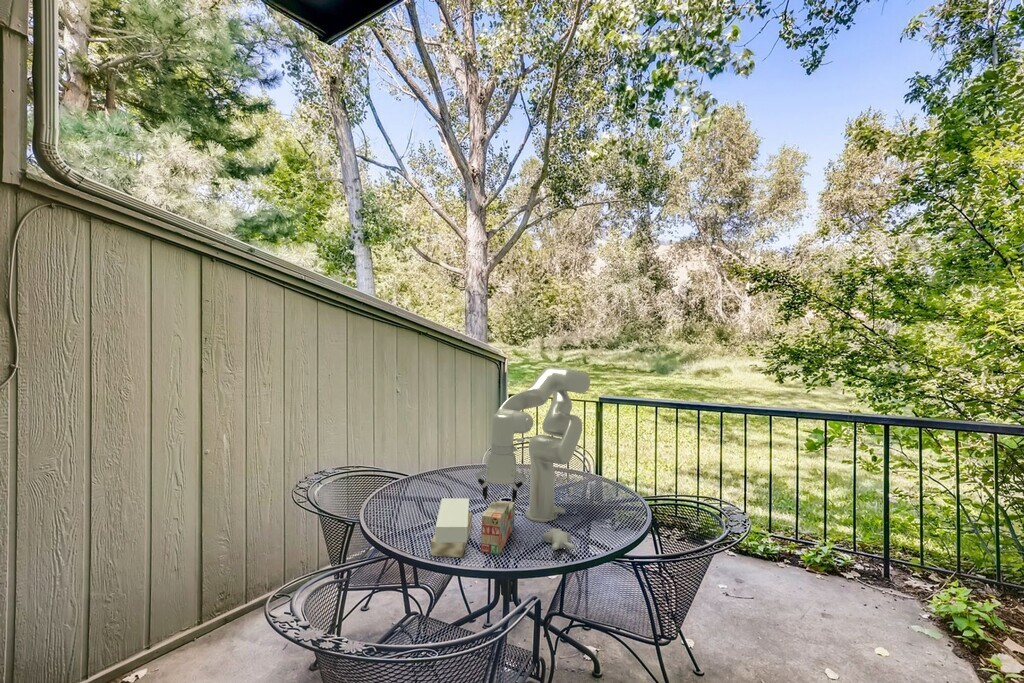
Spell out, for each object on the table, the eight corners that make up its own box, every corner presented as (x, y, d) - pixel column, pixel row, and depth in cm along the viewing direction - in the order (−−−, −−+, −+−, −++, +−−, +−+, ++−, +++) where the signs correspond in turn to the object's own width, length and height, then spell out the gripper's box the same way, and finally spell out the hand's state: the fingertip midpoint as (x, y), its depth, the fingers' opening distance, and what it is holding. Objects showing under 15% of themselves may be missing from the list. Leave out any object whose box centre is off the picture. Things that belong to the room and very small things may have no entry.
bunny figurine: (566, 524, 159) (578, 539, 144) (566, 539, 159) (578, 556, 144) (540, 525, 158) (549, 540, 143) (540, 540, 157) (549, 557, 143)
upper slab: (468, 511, 166) (469, 498, 166) (466, 542, 142) (467, 526, 142) (441, 511, 165) (441, 498, 165) (435, 542, 142) (435, 526, 141)
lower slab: (471, 525, 166) (472, 512, 166) (462, 558, 142) (462, 543, 142) (445, 524, 166) (445, 511, 166) (430, 557, 142) (431, 541, 142)
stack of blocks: (498, 525, 166) (499, 492, 166) (514, 527, 165) (515, 494, 165) (480, 552, 146) (481, 514, 145) (499, 555, 144) (500, 517, 144)
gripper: (527, 448, 157) (525, 497, 157) (478, 445, 158) (476, 493, 158) (526, 454, 149) (524, 505, 149) (475, 450, 151) (472, 501, 151)
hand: (499, 499), depth 154 cm, fingers open, 9 cm apart
